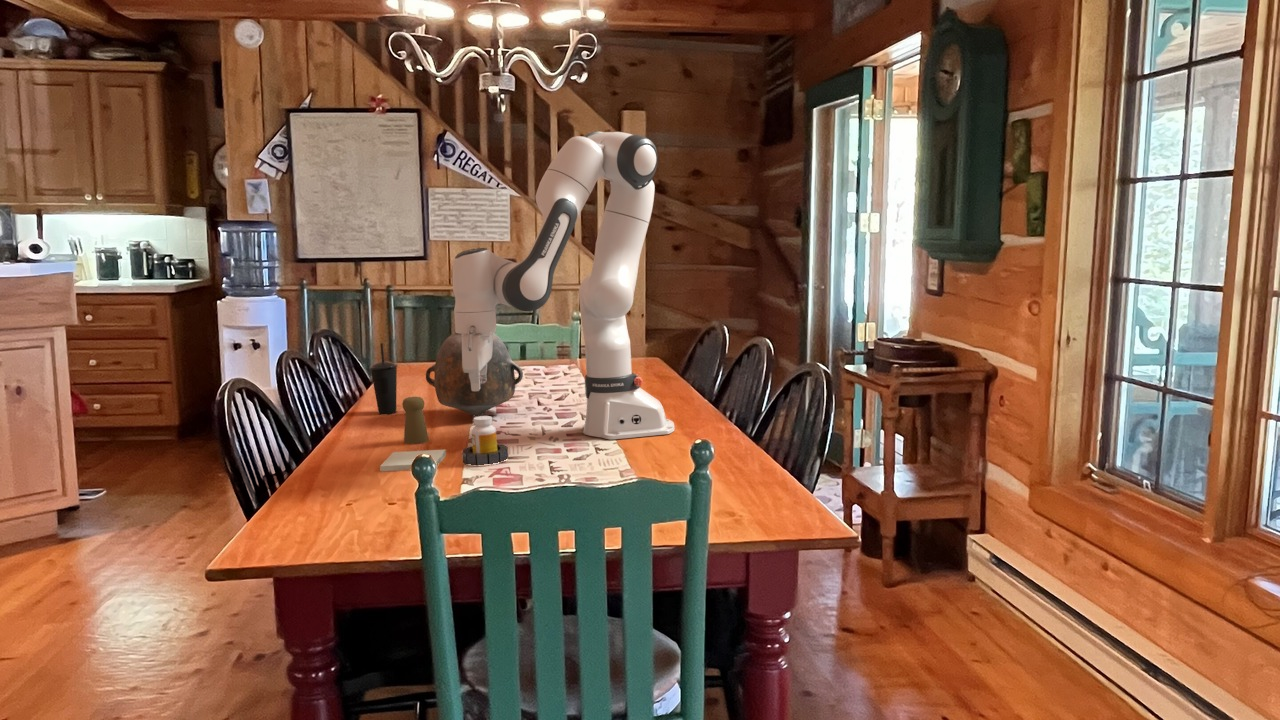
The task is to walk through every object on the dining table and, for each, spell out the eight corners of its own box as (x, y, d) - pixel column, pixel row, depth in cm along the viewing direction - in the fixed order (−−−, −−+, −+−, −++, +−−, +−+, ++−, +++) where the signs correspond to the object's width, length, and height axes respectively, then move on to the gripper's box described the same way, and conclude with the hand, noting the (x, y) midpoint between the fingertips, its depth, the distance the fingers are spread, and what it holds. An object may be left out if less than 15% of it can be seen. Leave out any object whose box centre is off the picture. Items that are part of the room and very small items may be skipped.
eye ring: (510, 453, 208) (509, 442, 207) (505, 464, 198) (504, 453, 198) (467, 455, 208) (466, 445, 207) (460, 467, 198) (459, 456, 197)
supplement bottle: (502, 458, 204) (499, 415, 203) (489, 464, 199) (486, 420, 198) (482, 456, 206) (479, 414, 205) (468, 462, 202) (465, 419, 200)
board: (446, 454, 209) (445, 449, 209) (436, 468, 198) (435, 463, 197) (393, 457, 209) (393, 452, 209) (380, 471, 197) (380, 466, 197)
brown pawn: (422, 444, 221) (418, 399, 219) (399, 444, 222) (395, 399, 220) (433, 438, 226) (429, 394, 225) (410, 438, 228) (406, 394, 226)
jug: (512, 404, 264) (505, 301, 260) (530, 418, 244) (522, 306, 240) (426, 414, 256) (417, 307, 251) (437, 429, 236) (428, 313, 231)
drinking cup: (407, 411, 261) (401, 341, 258) (386, 416, 255) (380, 345, 252) (388, 409, 266) (382, 341, 262) (368, 414, 259) (361, 344, 256)
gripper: (483, 328, 188) (487, 395, 190) (496, 318, 208) (499, 378, 210) (452, 329, 188) (456, 396, 190) (468, 319, 208) (471, 379, 210)
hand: (479, 386), depth 200 cm, fingers open, 8 cm apart
